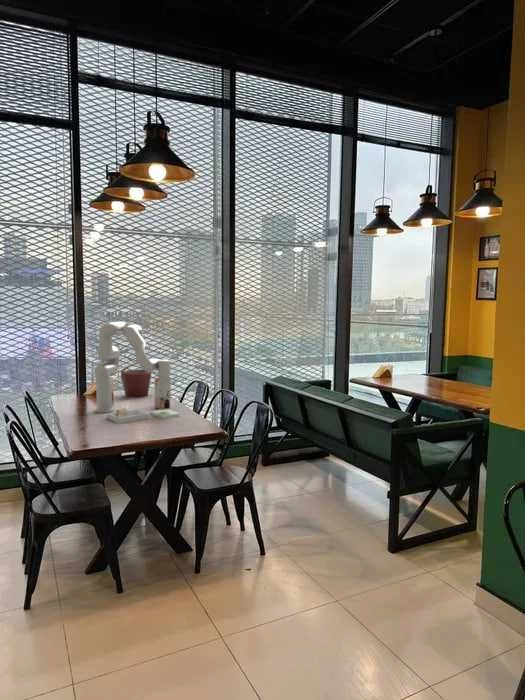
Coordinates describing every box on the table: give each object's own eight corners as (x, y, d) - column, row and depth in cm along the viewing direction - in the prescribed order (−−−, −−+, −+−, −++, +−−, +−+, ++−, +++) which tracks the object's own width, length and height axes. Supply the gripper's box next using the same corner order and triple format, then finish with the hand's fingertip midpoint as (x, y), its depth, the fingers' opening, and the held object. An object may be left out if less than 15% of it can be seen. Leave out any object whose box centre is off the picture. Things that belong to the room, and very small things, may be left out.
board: (150, 414, 317) (150, 411, 317) (167, 411, 325) (167, 408, 324) (162, 419, 305) (162, 416, 305) (179, 416, 312) (179, 413, 312)
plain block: (115, 419, 302) (115, 409, 302) (123, 418, 306) (123, 408, 305) (119, 420, 299) (119, 411, 298) (127, 419, 302) (126, 409, 301)
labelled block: (159, 408, 315) (159, 399, 314) (166, 407, 318) (166, 398, 317) (163, 410, 311) (162, 400, 310) (170, 408, 314) (170, 399, 313)
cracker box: (162, 409, 333) (162, 378, 331) (154, 408, 334) (153, 377, 332) (170, 404, 346) (170, 375, 344) (162, 404, 348) (162, 374, 345)
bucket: (151, 392, 393) (150, 360, 390) (156, 397, 373) (156, 364, 370) (119, 394, 383) (118, 362, 380) (123, 399, 363) (122, 365, 360)
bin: (107, 419, 305) (107, 413, 305) (138, 414, 317) (138, 409, 317) (118, 424, 293) (118, 418, 292) (149, 419, 305) (149, 413, 305)
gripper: (152, 378, 317) (153, 406, 319) (165, 381, 303) (165, 410, 305) (163, 376, 321) (163, 404, 323) (176, 380, 308) (176, 409, 310)
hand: (164, 407), depth 314 cm, fingers closed on labelled block, 5 cm apart
